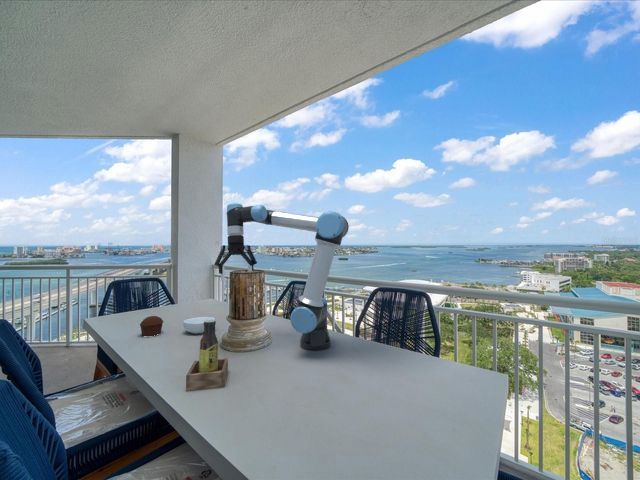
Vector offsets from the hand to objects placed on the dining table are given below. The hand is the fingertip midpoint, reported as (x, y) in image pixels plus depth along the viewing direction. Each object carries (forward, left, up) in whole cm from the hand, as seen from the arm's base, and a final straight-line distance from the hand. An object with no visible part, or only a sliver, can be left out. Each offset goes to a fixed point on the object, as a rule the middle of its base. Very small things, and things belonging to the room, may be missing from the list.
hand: (237, 280), depth 134 cm
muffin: (+48, -36, -33) cm, 68 cm away
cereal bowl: (+23, -35, -33) cm, 53 cm away
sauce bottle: (+8, +31, -32) cm, 45 cm away
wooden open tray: (+8, +31, -32) cm, 46 cm away
